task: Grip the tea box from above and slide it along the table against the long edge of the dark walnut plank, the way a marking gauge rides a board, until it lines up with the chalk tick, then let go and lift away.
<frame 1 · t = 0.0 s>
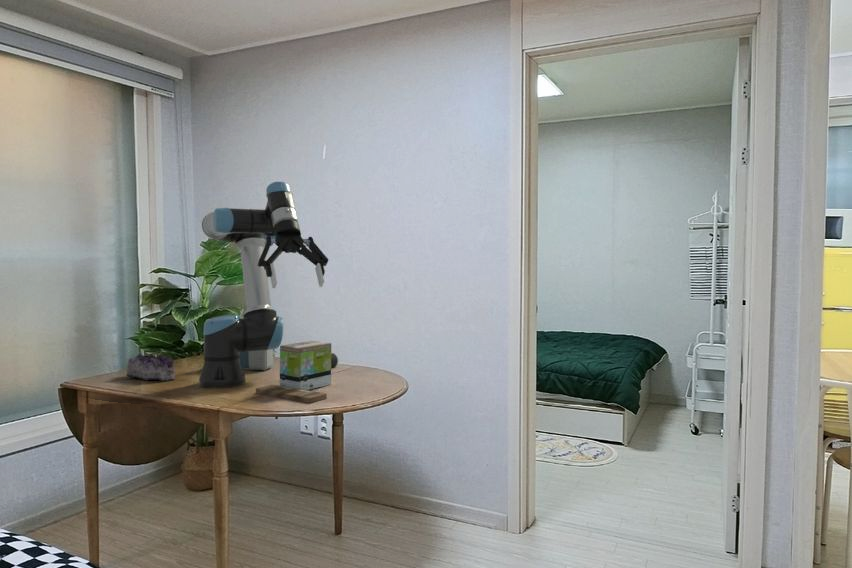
hand: (298, 285, 168), 36 cm above the table, fingers open, 13 cm apart
tea box: (306, 387, 200), on the table
flashlight: (320, 369, 232), on the table
walnut plank: (290, 395, 187), on the table
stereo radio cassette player: (246, 369, 233), on the table
geode: (154, 378, 215), on the table
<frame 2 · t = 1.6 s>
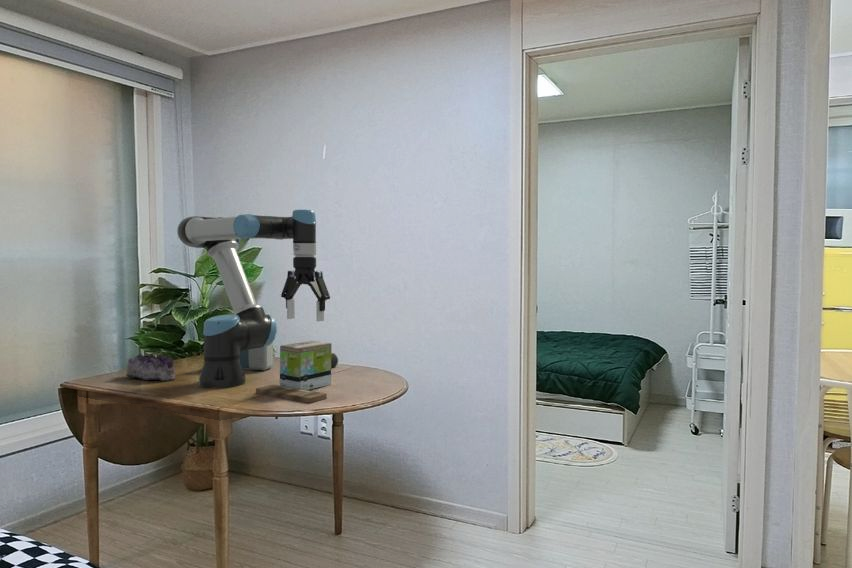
hand: (305, 319, 199), 23 cm above the table, fingers open, 13 cm apart
nothing on the table moved.
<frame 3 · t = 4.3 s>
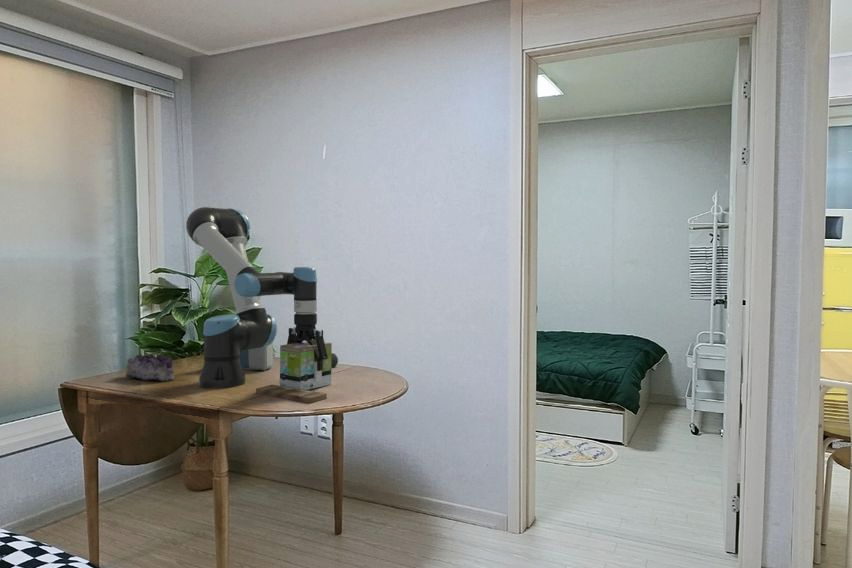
hand: (306, 378, 200), 3 cm above the table, fingers closed on tea box, 10 cm apart
tea box: (306, 387, 200), on the table, touching gripper
everything else where it was.
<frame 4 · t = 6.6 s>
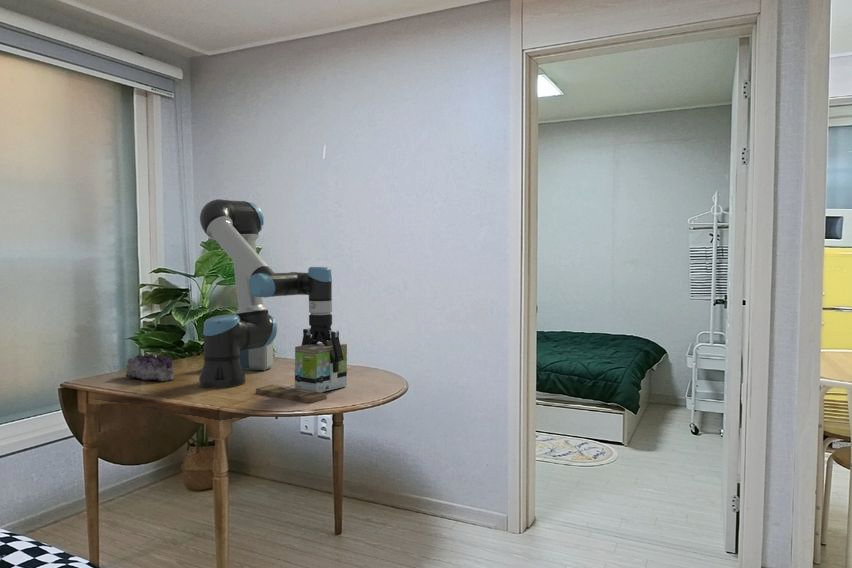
hand: (321, 380, 196), 3 cm above the table, fingers closed on tea box, 10 cm apart
tea box: (321, 389, 196), on the table, touching gripper
everything else where it was.
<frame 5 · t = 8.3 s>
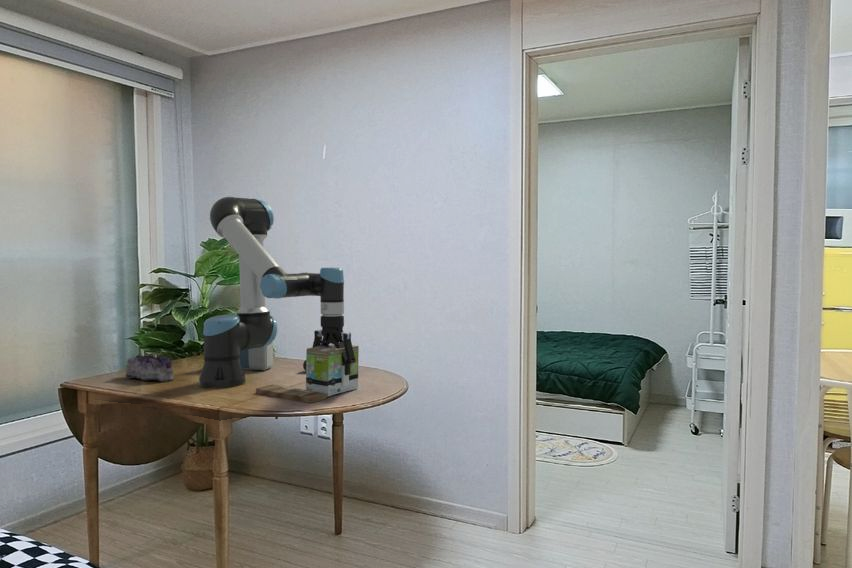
hand: (332, 382, 194), 3 cm above the table, fingers closed on tea box, 10 cm apart
tea box: (332, 391, 194), on the table, touching gripper
everything else where it was.
when the fingers open (3 cm above the table, at t = 9.1 s): tea box stays where it is, on the table.
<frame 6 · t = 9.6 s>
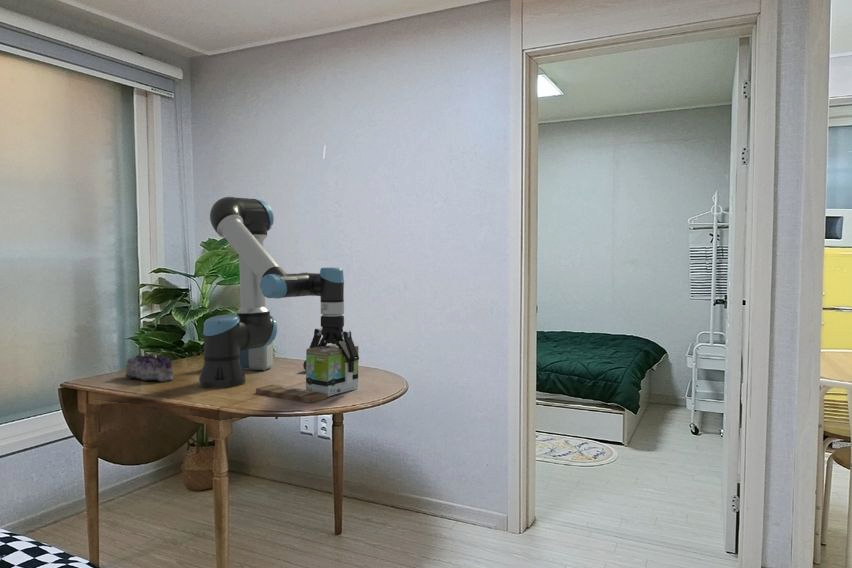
hand: (332, 379, 194), 4 cm above the table, fingers open, 13 cm apart
tea box: (332, 392, 194), on the table
everything else where it was.
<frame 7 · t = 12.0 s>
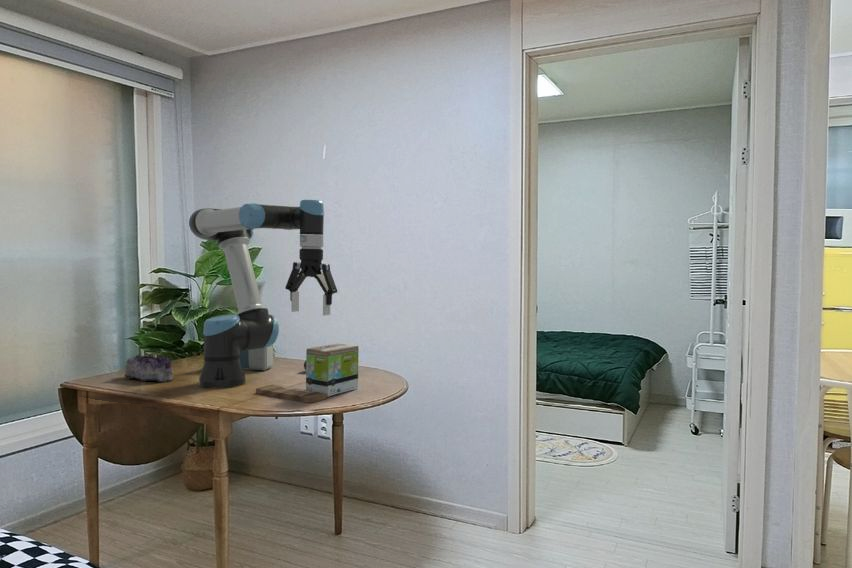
hand: (310, 313, 194), 25 cm above the table, fingers open, 13 cm apart
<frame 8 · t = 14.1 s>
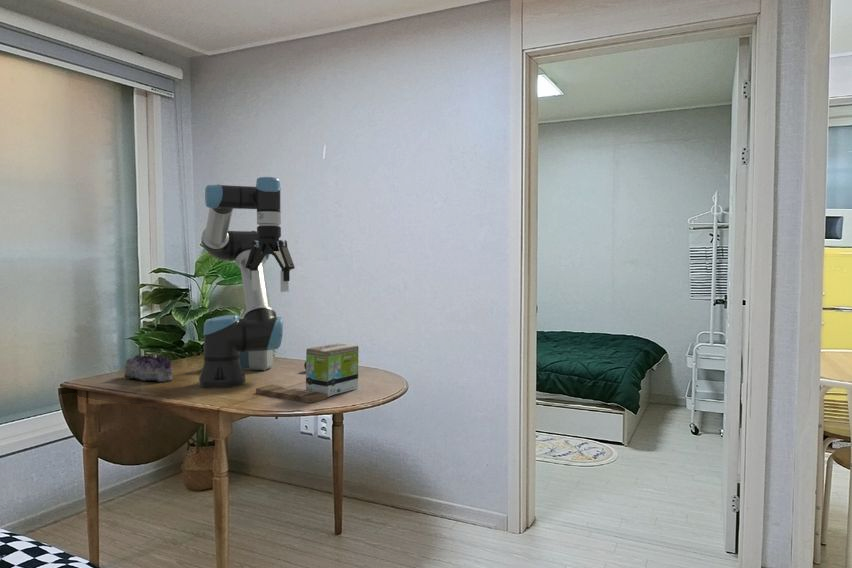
hand: (269, 291, 194), 33 cm above the table, fingers open, 13 cm apart
at the end: tea box inside the target area (0.1 cm from its centre), on the table; tea box tilted 0°; the gripper is holding nothing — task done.
